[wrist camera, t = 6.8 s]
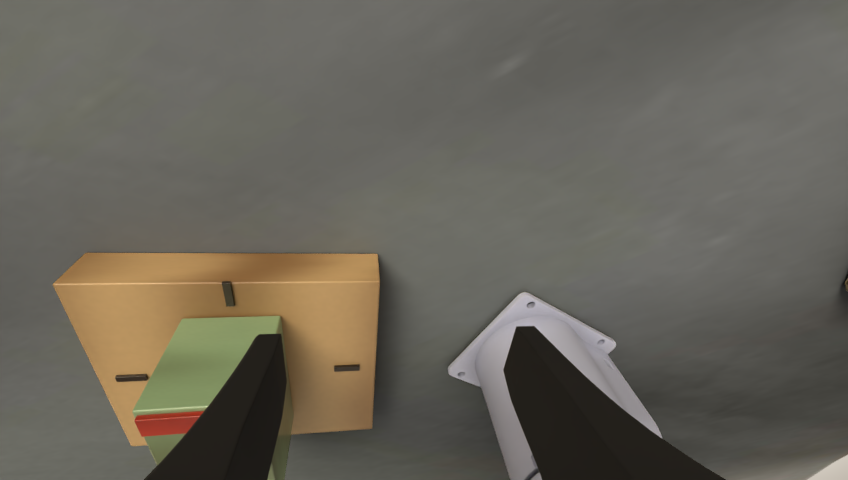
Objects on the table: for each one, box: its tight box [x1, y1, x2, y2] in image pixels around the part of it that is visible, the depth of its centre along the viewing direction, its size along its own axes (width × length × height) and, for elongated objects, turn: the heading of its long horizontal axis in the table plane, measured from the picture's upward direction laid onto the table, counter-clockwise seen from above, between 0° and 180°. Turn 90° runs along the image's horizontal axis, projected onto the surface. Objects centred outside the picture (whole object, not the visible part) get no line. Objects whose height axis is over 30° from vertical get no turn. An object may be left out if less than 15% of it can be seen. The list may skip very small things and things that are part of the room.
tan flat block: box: [53, 253, 380, 446], centre depth 22 cm, size 14×12×3 cm
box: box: [132, 316, 294, 480], centre depth 19 cm, size 8×4×5 cm, turn 175°
